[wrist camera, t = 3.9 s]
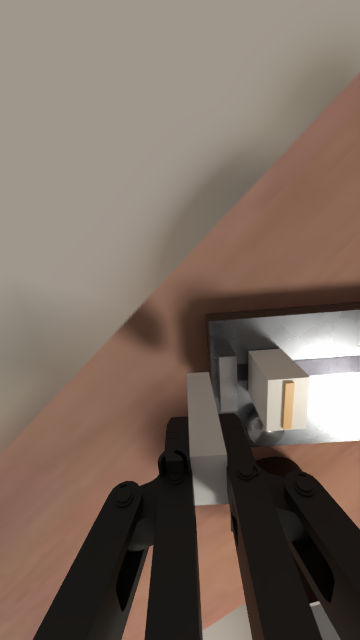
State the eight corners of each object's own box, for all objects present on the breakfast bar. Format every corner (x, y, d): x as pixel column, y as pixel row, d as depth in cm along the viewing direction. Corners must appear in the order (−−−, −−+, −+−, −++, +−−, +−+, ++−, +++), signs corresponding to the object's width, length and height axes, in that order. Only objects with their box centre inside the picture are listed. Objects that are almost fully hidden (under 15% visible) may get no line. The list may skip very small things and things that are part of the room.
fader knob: (248, 392, 18) (267, 433, 14) (248, 351, 17) (269, 381, 13) (278, 390, 18) (307, 430, 14) (280, 348, 17) (311, 378, 13)
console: (212, 431, 22) (218, 466, 18) (206, 314, 18) (211, 328, 15) (429, 417, 21) (477, 450, 18) (463, 293, 18) (531, 304, 14)
